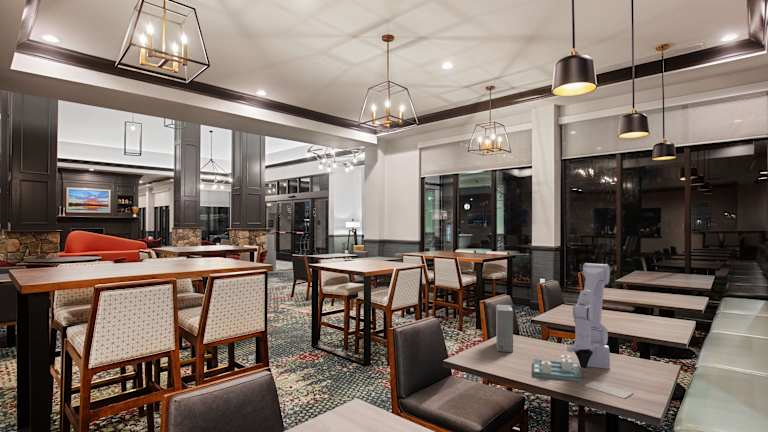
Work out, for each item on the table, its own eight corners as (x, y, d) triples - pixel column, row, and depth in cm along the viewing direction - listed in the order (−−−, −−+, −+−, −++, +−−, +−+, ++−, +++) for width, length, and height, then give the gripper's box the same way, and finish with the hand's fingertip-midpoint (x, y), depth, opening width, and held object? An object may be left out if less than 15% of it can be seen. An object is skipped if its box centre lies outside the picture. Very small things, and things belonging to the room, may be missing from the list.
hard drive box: (513, 352, 198) (513, 311, 199) (497, 351, 200) (496, 310, 200) (511, 343, 213) (510, 304, 214) (496, 342, 215) (495, 304, 215)
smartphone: (625, 398, 146) (583, 385, 158) (625, 400, 146) (583, 386, 158) (633, 393, 150) (592, 381, 162) (633, 395, 150) (592, 382, 162)
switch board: (578, 367, 178) (578, 363, 178) (582, 381, 162) (582, 377, 162) (533, 362, 184) (533, 359, 184) (533, 376, 168) (533, 372, 168)
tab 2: (570, 364, 178) (569, 354, 178) (570, 367, 174) (570, 356, 174) (561, 363, 179) (561, 353, 179) (561, 366, 176) (561, 355, 176)
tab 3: (571, 369, 173) (570, 357, 173) (571, 372, 169) (571, 360, 169) (561, 368, 174) (561, 357, 174) (562, 371, 170) (562, 359, 171)
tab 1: (550, 371, 170) (550, 360, 170) (551, 374, 167) (551, 363, 167) (541, 370, 171) (541, 359, 171) (542, 373, 168) (541, 362, 168)
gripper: (589, 330, 176) (590, 362, 175) (561, 333, 171) (562, 366, 171) (603, 334, 169) (603, 368, 169) (574, 338, 165) (574, 372, 164)
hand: (583, 367), depth 169 cm, fingers closed
